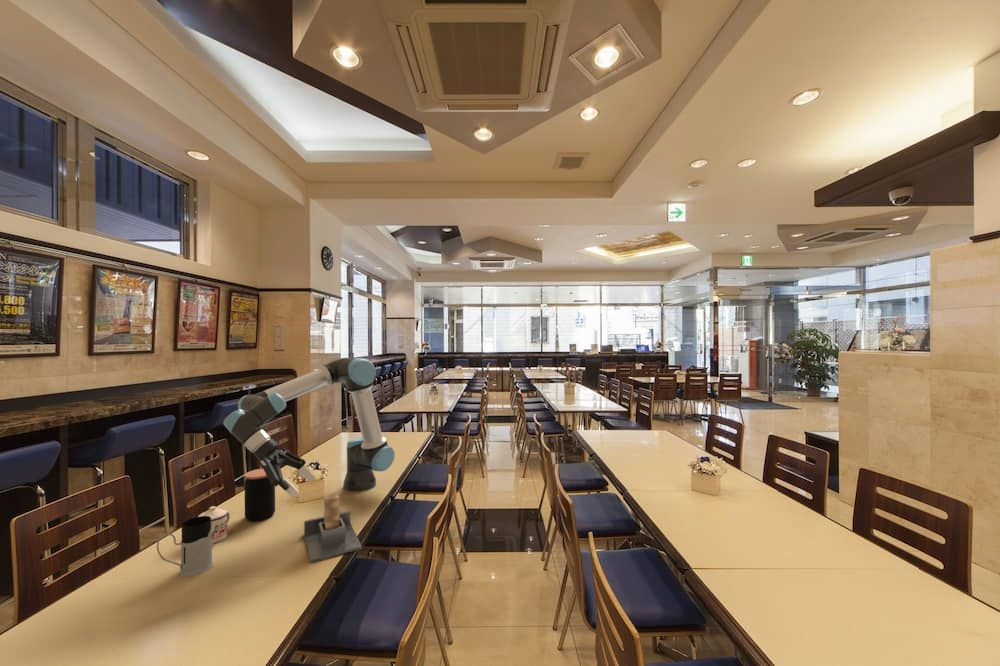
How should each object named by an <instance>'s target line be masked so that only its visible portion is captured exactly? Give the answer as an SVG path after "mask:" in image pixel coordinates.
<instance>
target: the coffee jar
mask: <svg viewBox="0 0 1000 666" xmlns="http://www.w3.org/2000/svg"><path fill="white" fill-rule="evenodd" d="M244 478H245V480H244V518H245V519H246V521H247V522H251V523H255V522H262V521H265V520H269V519H270V518H272V517H273V516H274V514H275V513H276V486H273V485H271V483H270V481H269V479H268V477H267V475H266V473H265V471H264V469H263V468H258V469H253V470H250V471H248V472H245V474H244Z"/></svg>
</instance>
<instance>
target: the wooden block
mask: <svg viewBox="0 0 1000 666" xmlns="http://www.w3.org/2000/svg"><path fill="white" fill-rule="evenodd" d="M323 497H324V499H323V500H324V503H323V504H324V506H323V507H324V510H323V511H324V512H323V513H324V515H323V517H324V523H325V530H328V529H332V528H336V527H339V513H340V496H339V493H332V494H331V493H330V494H326V495H324V496H323Z"/></svg>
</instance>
